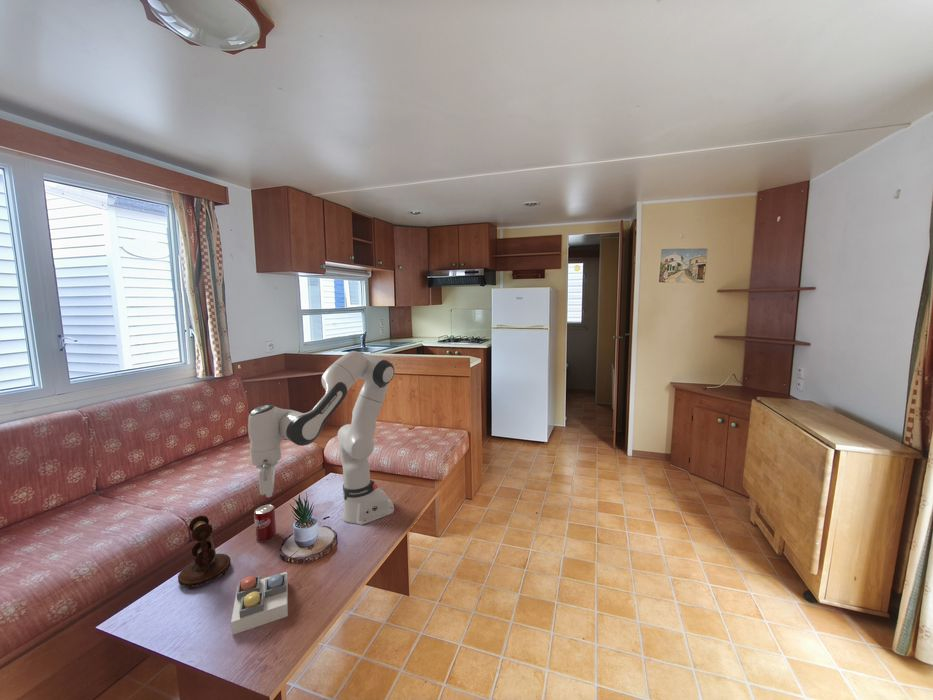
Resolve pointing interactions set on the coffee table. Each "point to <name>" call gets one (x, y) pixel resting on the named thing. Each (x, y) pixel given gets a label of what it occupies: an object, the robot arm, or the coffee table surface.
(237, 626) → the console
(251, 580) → the brick button
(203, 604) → the coffee table surface
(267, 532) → the soda can
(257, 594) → the ochre button
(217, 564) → the brown spool stand
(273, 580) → the slate button
